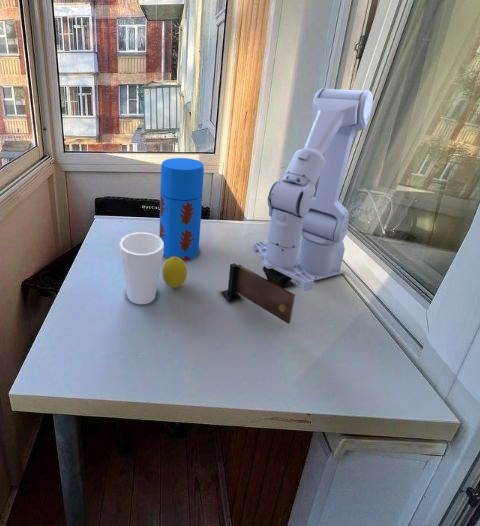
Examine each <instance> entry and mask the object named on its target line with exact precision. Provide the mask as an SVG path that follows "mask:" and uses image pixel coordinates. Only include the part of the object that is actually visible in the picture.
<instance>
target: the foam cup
mask: <svg viewBox="0 0 480 526" xmlns="http://www.w3.org/2000/svg"><path fill="white" fill-rule="evenodd" d="M118 245H119V246H118V251H119V256H120V259H121V265H122V272H123V277H124V278H123V279H124V282H125V284H124V285H125V290H126V295H127V299H128V300H129V301H131V303H133V304H137V305H147V304H150V303H152V302H153V301H154V300H155V299H156V295H157V291H158V290H157V289H158V284H159V277H160V272H161V265H162V260H163V258H164V255H163V253H164V242H163V241H162V239H161V238H160V237H159V235H156V234H155V233H151V232H147V231H145V232H143V231H142V232H132V233H128V234H126V235H125V236H123V237H121V240H119V242H118Z"/></svg>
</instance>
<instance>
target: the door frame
mask: <svg viewBox="0 0 480 526" xmlns="http://www.w3.org/2000/svg"><path fill="white" fill-rule="evenodd" d="M237 265H238V264H237V263H231V264H229V273H228V274H229V275H228V283H227V284H228V285H227V286H228V287H227V289H226V290H221V295H222V296H223V297H224V298H225V299H226V300H227V302H228V303H231V302H235V301H239V300H242V295H240V294H239V293H237V292H235V291H236V282H237V272H238V266H237ZM294 284H295V283H294V281H292V280H290V281H289V282H288V284H287V285H286V286H285V288H289V287H293V286H294Z"/></svg>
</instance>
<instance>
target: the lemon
mask: <svg viewBox="0 0 480 526" xmlns="http://www.w3.org/2000/svg"><path fill="white" fill-rule="evenodd" d="M161 272H162V279H163V281H164V283H165V284H166V285H167V286H169V287H171V288H173V289H175V288H179V287H181V286H182V285H184V284H185V282H186V280H187V276H188V270H187V265H186V263H185V261H183V260H182V259H181V258H179V257H176V256H174V257H170V258H167V259H166V260H165V262H164V263H163V265H162V271H161Z"/></svg>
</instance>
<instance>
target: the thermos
mask: <svg viewBox="0 0 480 526" xmlns="http://www.w3.org/2000/svg"><path fill="white" fill-rule="evenodd" d="M204 167H205V166H204V163H203V162H202V161H200V160H197V159H194V158H189V157H173V158H167V159H164V160H163V161H162V162H161V165H160V190H159V191H160V192H159V193H160V194H159V195H160V196H159V232H158V234H159V235H158V237H160V238H161V239H162V241H163V242H164V253H163V257H165V258H167V259H168V258H170V257H174V256H176V257H179V258H181V259H182V260H183V261H184V262H185V261H191V260H192V259H194V258H195V257H197V256H198V252H199V246H200V239H201V238H200V236H201V222H202V221H201V220H202V208H203V207H202V203H203V189H204V174H205V173H204V172H205V169H204Z"/></svg>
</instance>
